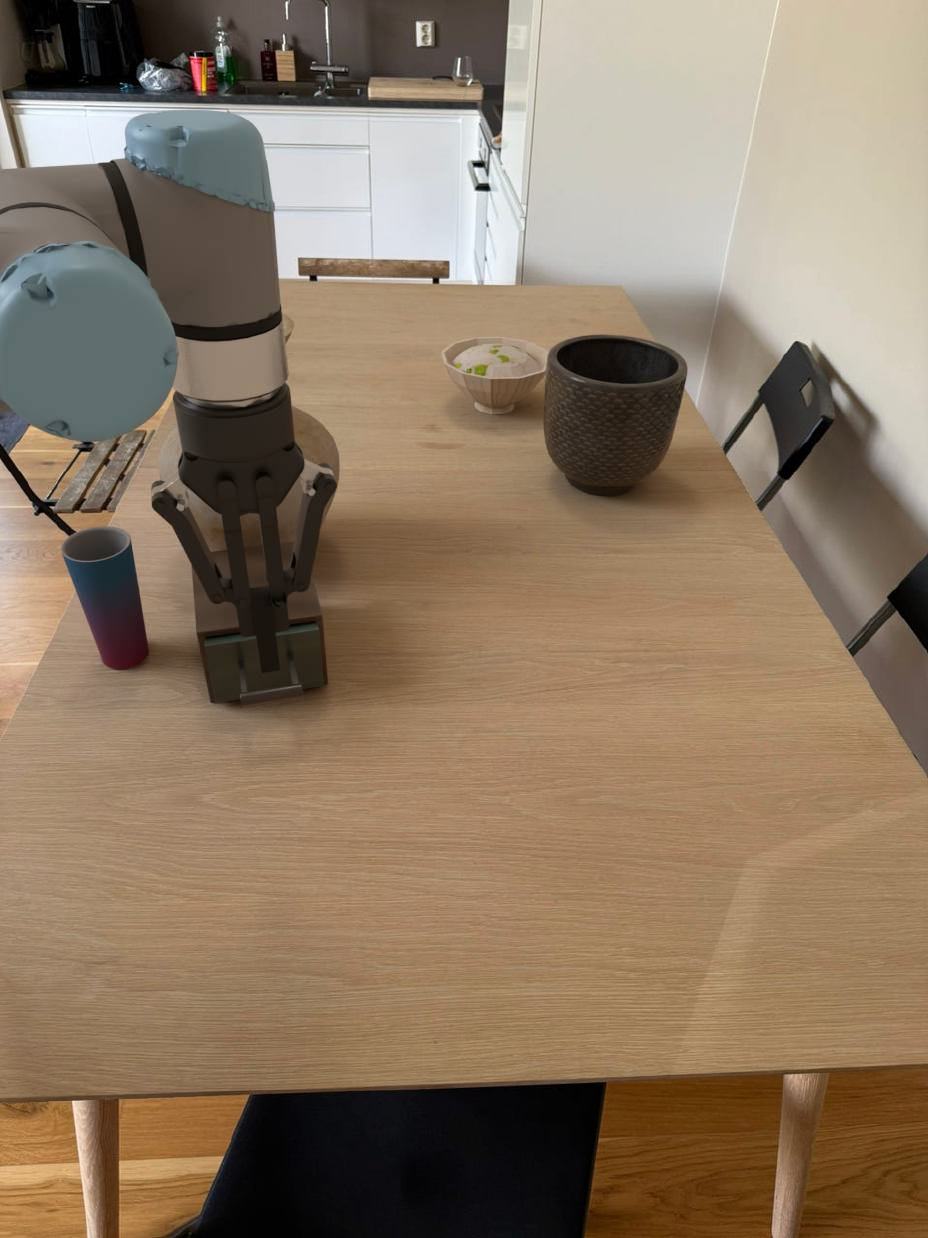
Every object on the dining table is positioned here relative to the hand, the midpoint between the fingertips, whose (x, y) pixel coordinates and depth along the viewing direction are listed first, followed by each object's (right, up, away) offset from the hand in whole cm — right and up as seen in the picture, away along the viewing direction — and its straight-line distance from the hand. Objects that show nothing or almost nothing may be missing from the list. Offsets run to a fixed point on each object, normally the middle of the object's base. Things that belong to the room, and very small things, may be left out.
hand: (269, 661), depth 72 cm
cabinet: (-7, 0, +29) cm, 30 cm away
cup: (-22, -1, +28) cm, 36 cm away
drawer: (-6, -2, +25) cm, 26 cm away
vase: (-11, +12, +46) cm, 49 cm away
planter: (+37, +25, +64) cm, 78 cm away
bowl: (+21, +41, +84) cm, 96 cm away
